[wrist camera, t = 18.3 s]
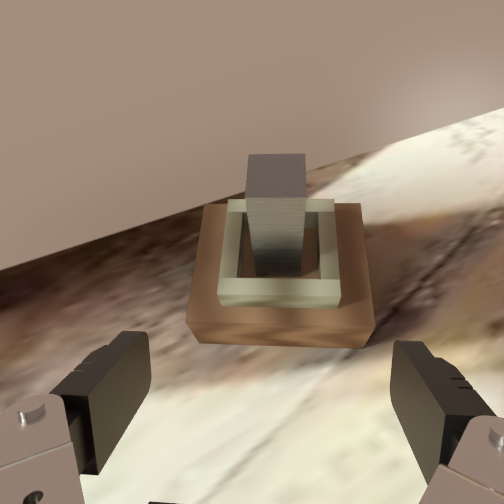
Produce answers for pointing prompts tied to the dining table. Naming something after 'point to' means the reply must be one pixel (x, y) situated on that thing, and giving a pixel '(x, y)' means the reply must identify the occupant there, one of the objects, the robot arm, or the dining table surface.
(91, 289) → the dining table surface
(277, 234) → the peg
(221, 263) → the stand
